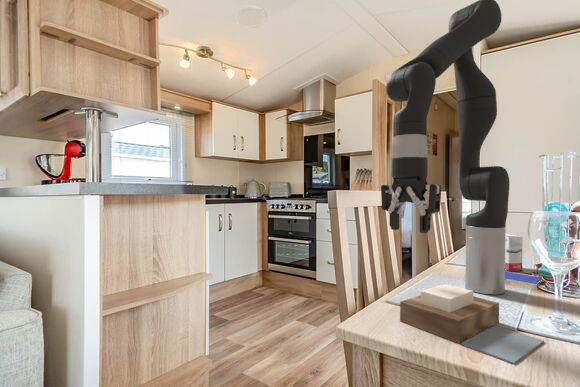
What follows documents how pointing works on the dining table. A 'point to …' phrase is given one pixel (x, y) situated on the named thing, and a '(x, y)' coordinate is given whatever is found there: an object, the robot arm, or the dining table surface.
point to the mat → (503, 344)
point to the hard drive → (522, 278)
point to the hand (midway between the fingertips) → (408, 230)
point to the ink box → (513, 252)
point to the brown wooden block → (451, 318)
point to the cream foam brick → (447, 297)
